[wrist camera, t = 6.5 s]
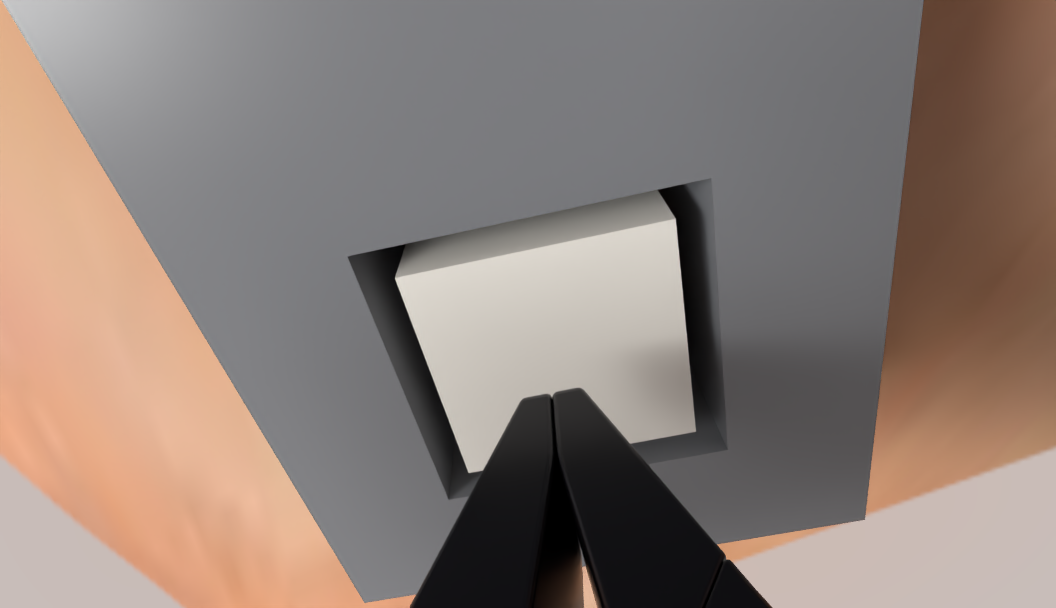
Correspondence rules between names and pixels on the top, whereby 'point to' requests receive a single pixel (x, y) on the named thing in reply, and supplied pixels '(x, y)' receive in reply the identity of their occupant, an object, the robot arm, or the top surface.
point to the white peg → (555, 319)
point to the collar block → (510, 219)
